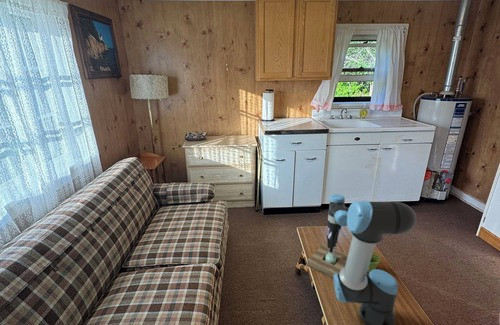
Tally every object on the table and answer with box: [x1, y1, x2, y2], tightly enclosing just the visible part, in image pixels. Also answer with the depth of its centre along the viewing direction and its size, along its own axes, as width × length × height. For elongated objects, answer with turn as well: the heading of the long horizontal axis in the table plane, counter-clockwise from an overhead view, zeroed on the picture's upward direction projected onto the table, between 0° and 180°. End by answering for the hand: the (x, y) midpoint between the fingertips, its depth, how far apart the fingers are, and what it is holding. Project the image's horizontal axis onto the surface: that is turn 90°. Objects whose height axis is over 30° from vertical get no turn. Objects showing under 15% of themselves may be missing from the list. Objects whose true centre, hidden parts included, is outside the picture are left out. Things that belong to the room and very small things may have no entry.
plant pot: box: [367, 252, 381, 274], centre depth 152 cm, size 9×9×9 cm
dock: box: [306, 243, 348, 279], centre depth 157 cm, size 20×20×4 cm
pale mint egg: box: [325, 253, 337, 265], centre depth 157 cm, size 6×6×5 cm
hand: (331, 256), depth 156 cm, fingers closed
